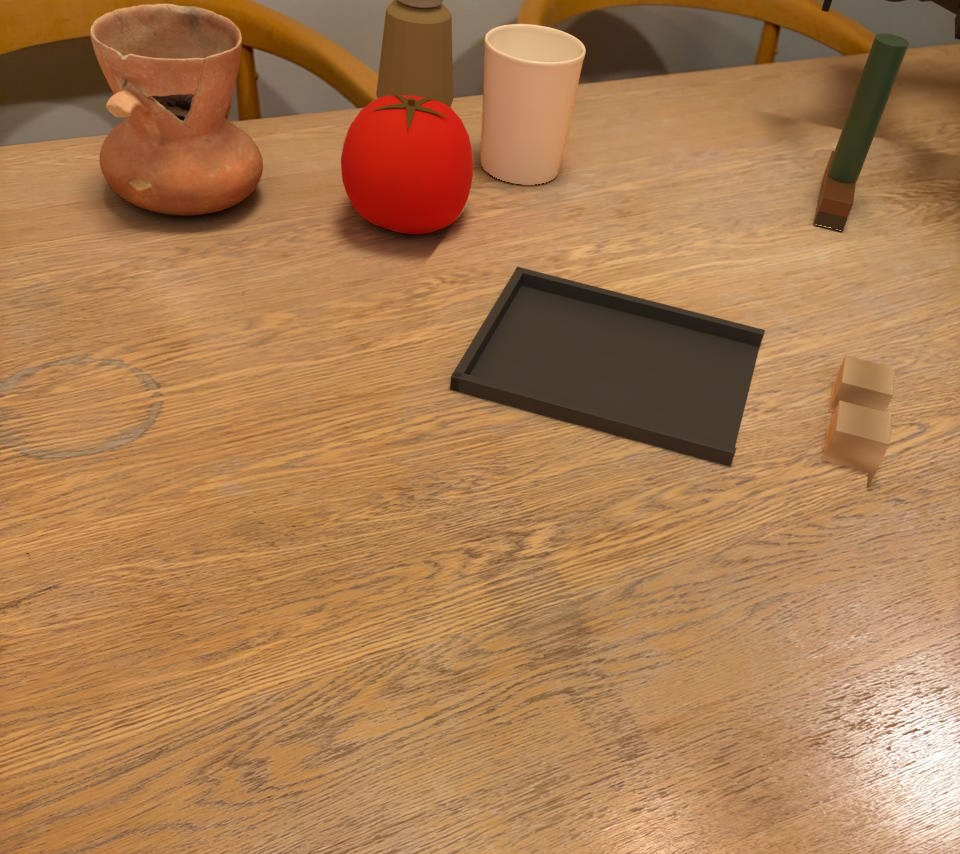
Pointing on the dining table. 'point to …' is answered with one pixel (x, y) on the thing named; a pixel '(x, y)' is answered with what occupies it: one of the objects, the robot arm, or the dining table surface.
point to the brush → (859, 130)
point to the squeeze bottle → (417, 51)
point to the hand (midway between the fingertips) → (896, 10)
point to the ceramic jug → (174, 109)
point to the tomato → (407, 164)
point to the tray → (614, 364)
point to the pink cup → (528, 101)
